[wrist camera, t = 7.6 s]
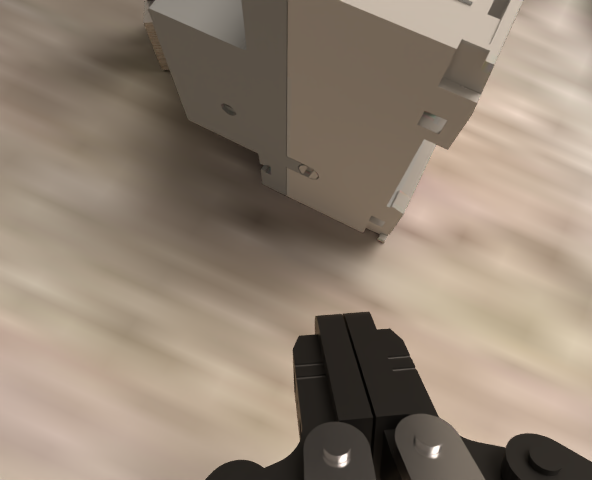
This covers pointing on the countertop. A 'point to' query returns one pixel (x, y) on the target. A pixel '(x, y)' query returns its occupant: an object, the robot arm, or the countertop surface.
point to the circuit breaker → (335, 89)
